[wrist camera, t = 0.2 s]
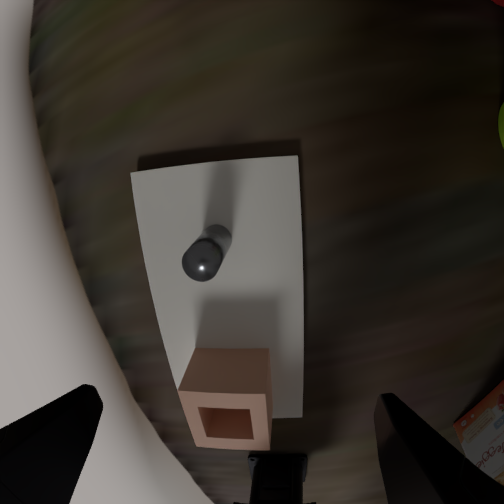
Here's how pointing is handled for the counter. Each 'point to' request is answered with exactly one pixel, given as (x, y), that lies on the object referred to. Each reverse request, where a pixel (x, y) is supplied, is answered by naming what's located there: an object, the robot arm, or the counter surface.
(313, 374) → the counter surface
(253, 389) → the pink hollow square block
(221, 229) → the steel pin
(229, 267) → the base plate
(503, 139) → the soap dispenser
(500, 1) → the plastic cup
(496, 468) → the cracker box
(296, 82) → the counter surface
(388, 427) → the robot arm
